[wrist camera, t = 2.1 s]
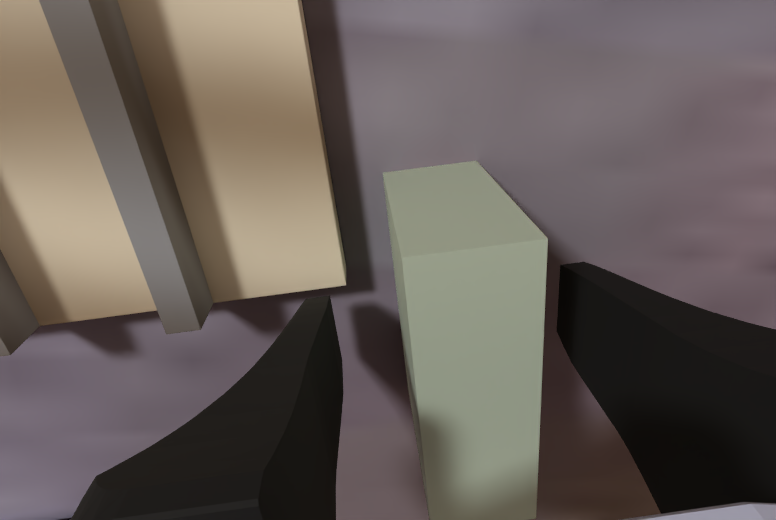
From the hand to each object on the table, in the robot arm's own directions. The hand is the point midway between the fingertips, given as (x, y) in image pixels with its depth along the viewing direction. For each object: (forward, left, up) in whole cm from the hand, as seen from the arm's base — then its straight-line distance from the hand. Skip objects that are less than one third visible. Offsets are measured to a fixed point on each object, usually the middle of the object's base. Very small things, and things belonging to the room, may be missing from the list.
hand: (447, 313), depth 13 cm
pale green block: (0, 0, -2) cm, 2 cm away
